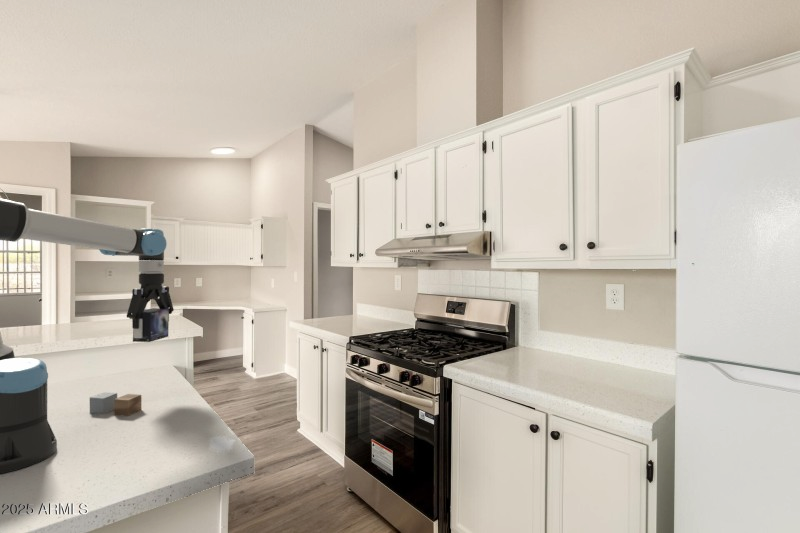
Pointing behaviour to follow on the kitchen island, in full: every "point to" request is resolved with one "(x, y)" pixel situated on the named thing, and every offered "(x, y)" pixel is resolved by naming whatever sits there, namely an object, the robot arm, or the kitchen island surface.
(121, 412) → the walnut block
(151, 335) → the small box
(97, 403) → the slate-grey block
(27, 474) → the kitchen island surface
